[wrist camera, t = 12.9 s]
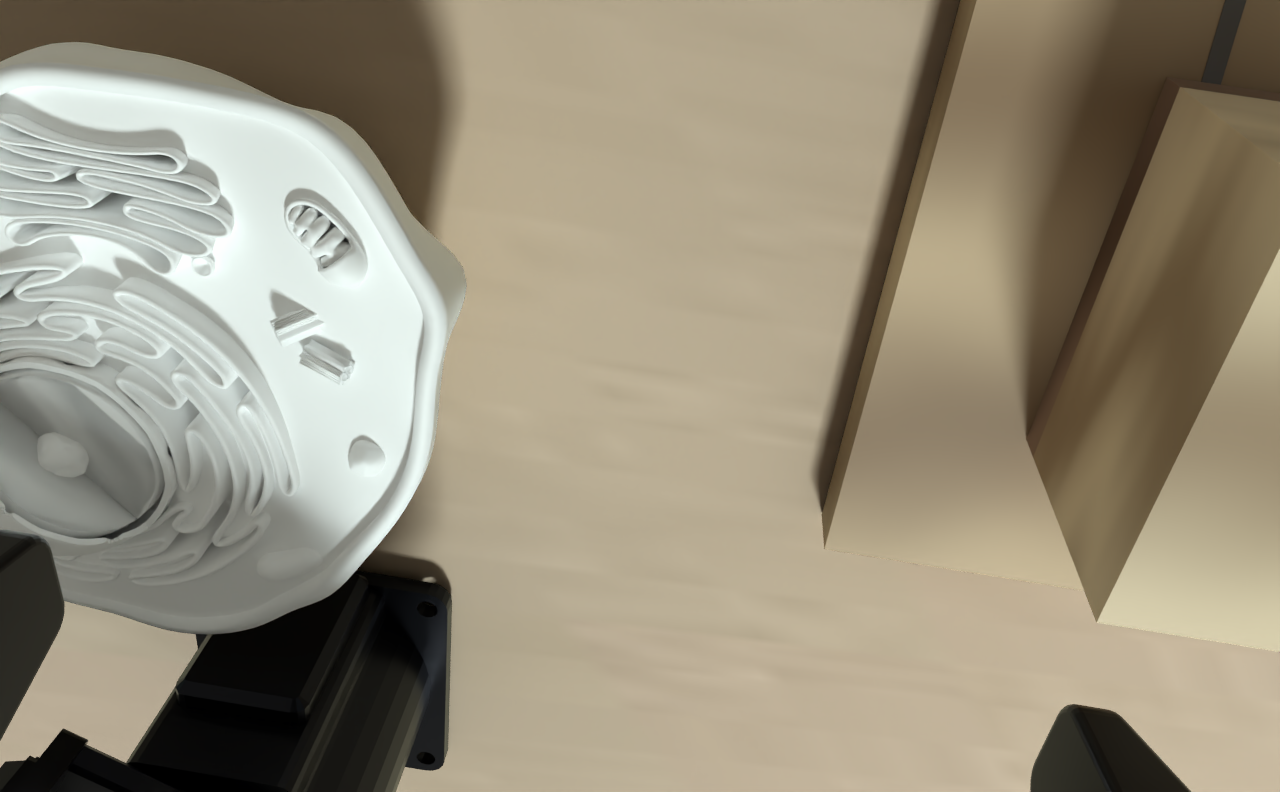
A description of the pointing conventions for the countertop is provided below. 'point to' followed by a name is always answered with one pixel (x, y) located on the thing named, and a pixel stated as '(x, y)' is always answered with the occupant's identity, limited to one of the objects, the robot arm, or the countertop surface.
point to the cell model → (205, 338)
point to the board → (1010, 266)
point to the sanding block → (1178, 382)
